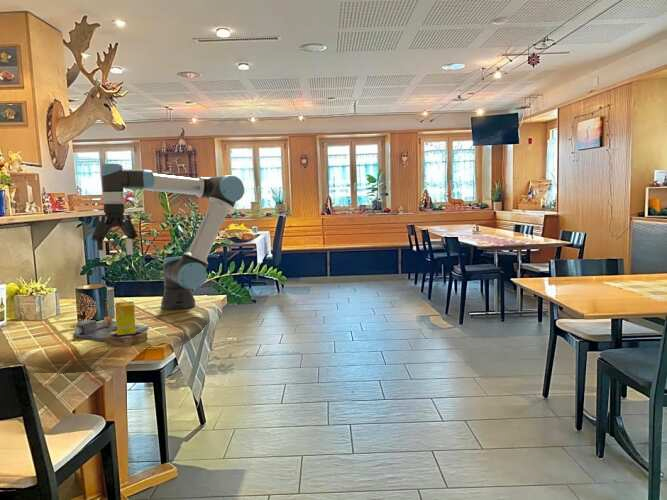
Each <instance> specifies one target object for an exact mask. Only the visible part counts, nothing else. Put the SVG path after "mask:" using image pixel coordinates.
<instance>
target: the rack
mask: <svg viewBox="0 0 667 500" xmlns="http://www.w3.org/2000/svg"><path fill="white" fill-rule="evenodd" d="M113 333H114V332H113ZM147 340H148V332H146V331H142V332H140V331H136V335H134V336H125V337H117V332H115V333H114V334H111V335H108V336H105V342H104V343H105V345H110V344H111V345H110V346H116V345H118V346H117V347H122V346H124V347H123V348H128V347H130V345H131V346H133V345H136V344H139V343H142V342H145V341H147ZM127 346H128V347H127Z"/></svg>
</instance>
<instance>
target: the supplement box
mask: <svg viewBox="0 0 667 500" xmlns="http://www.w3.org/2000/svg"><path fill="white" fill-rule="evenodd" d="M114 308H115V320H116V323H117V330H116V333H117V337H125V336H134V335H136V331H135V325H136V316H135V313H136V312H135V303H134V301H123V302H121V301H120V302H115V303H114Z"/></svg>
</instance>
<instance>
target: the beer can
mask: <svg viewBox="0 0 667 500" xmlns="http://www.w3.org/2000/svg"><path fill="white" fill-rule="evenodd" d="M106 287H107V296H108V297H107V305H108V315H109V317H111V318H112V319H115V318H116V308H115V292H114V289H115V288H114V287H112V286H106Z"/></svg>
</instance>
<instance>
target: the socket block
mask: <svg viewBox="0 0 667 500" xmlns="http://www.w3.org/2000/svg"><path fill="white" fill-rule="evenodd" d="M96 322H97V321H96V320H91V319H86V320H82V321H79V322H78V321H77V322H76V327H79V326H83V330H84V332H83V333H80V334H77V333H75V332H73V333H72V336H73V337H74V338H79V337H80V338H81V339H85V338H86V339H87V340H91V339H93V341H98V340H100V341H99V342H104V341H105V336H108V335H111V334H114V332H112V331H113V330H114V331H117V323H116V322H115V321H112V325H111V326H104V327H101V328H97V325H96ZM148 330H149V326H146V325H138V324H135V331H140V332H146V331H148ZM86 339H85V340H86Z"/></svg>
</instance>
